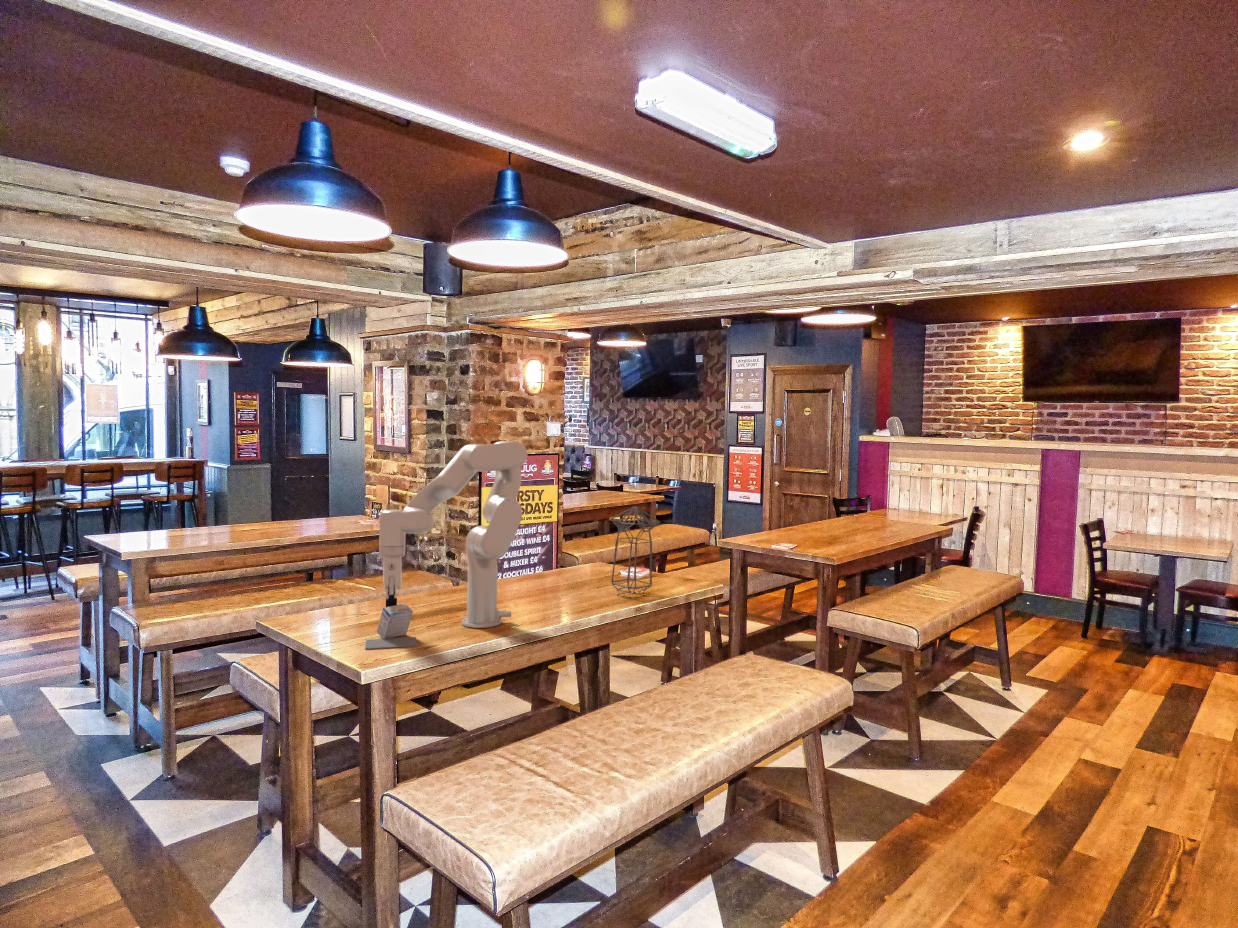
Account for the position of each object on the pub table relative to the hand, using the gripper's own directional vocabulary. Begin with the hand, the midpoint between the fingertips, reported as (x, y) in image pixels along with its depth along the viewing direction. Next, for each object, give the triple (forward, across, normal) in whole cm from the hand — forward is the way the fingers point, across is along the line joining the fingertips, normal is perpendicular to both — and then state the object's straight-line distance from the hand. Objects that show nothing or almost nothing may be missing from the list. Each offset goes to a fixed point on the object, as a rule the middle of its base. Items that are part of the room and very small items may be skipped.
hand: (391, 611), depth 218 cm
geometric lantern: (+7, +39, -90) cm, 98 cm away
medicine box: (+7, -1, 0) cm, 7 cm away
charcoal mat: (+7, -10, 0) cm, 12 cm away
